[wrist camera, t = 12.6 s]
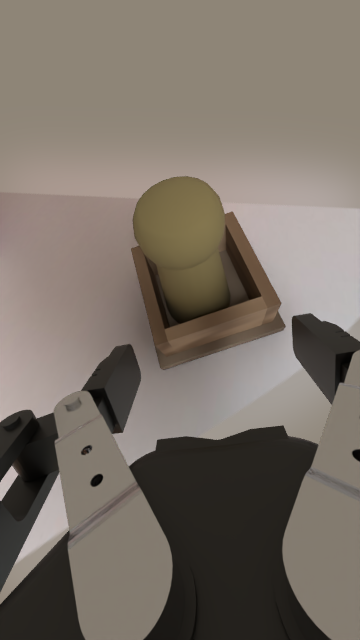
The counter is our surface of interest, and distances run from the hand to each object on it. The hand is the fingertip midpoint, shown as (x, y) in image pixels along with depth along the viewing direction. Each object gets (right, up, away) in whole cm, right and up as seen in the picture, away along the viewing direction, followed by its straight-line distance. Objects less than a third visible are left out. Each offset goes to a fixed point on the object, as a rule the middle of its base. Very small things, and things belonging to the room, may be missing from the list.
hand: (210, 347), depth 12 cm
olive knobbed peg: (0, +3, +10) cm, 11 cm away
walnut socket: (+1, +3, +11) cm, 12 cm away
